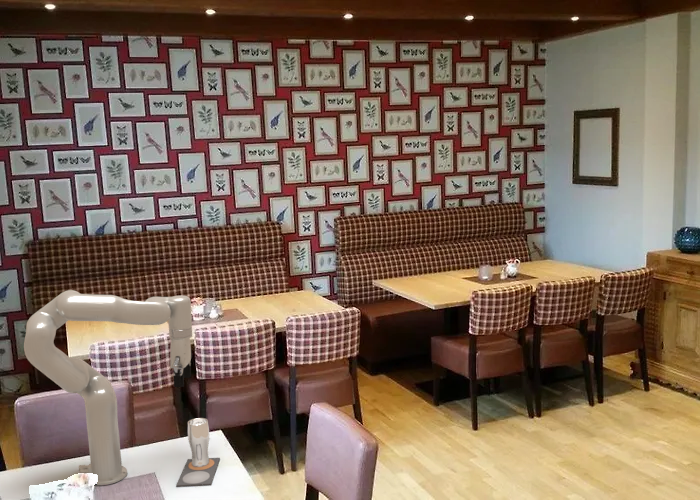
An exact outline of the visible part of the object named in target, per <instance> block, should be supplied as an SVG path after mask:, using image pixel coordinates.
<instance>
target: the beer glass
mask: <svg viewBox="0 0 700 500" xmlns="http://www.w3.org/2000/svg"><path fill="white" fill-rule="evenodd" d="M187 437H188V438H187V439H188V443H189V447H190V451H191V459H192V463H191V465H192V467H194V468H203V467H206V466H208V465H209V464H210V460H209V458H210V457H209V443H210V428H209V420H208V419H207V418H204V417H198V418H192V419H189V420H188V421H187Z"/></svg>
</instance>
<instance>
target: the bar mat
mask: <svg viewBox="0 0 700 500" xmlns="http://www.w3.org/2000/svg"><path fill="white" fill-rule="evenodd" d="M209 460H210V464H209V465H208V466H206V467H203V468H194V467H192V465H191V463H192V458H187V459H186V463H185V465H184V467H183V469H182V471H181V472H180V475H179V478H178V480H177V482H176V484H175V487H176V488H182V487H201V486H202V487H204V486H212V483H213V481H214V478H215V475H216V472H217V470H218V467H219V463H220V461H221V457H209Z"/></svg>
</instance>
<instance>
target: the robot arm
mask: <svg viewBox="0 0 700 500" xmlns="http://www.w3.org/2000/svg"><path fill="white" fill-rule="evenodd" d="M68 321H71V322H75V321H76V322H109V323H110V322H113V323H117V324H129V325H138V326H141V325H142V326H158V325H159V326H160V325H163V324H166V322H167V323H168V336H169V337H168V338H169V339H170V349H169V350H170V352H169V354H170V362H169V365H170V368H171V369H173V371H172V372H173V387H174V388H184V386H185V379H188V378H189V379H190V378H191V377H192V367H191V364H192V363H191V359H192V347H191V345H192V344H191V339H192V337H193V326H192V325H193V324H192V301H191V298H190V297H189V296H187V295H174V296H150V297H149V298H147V299H145V301H137V300H130V299H126V298H123V297H122V296H121V297H120V296H117V295H113V294H91V293H80V292H78V291H77V290H72V289H68V290H65V291H63V292H61V293H60V294H59V295H57V296H56V297H54V298H53V299H52V300H51V301H49V302H48V303H47V304H45V305H44V306H42V307H41V308H40V309H38V310H37V311H36V312H35V313H33V314H32V315H31V316H30V317H29V319H28V320H27V322H26V325H25V326H26V327H25V328H26V329H25V337H24V340H23V342H24V343H23V350H24V355H25V356H26V357H25V358H26V359H27V361H28V362H29V363H30V364H31V365H32V366H33V367H35V368H36V369H37V370H38V371H40V372H41V373H42V374H43V375H44V376H46V377H47V378H48V379H50V380H51V381H52V382H54V383H55V384H56V385H58V387H60V388H61V389H62V390H63V391H65V392H67V393H70V394H77V395H79V396H80V397H82V398H83V400H84V406H85V407H84V409H85V419H86V431H87V439H88V449H89V450H88V451H89V460H90V463H89V464H79V465H78V472H79V473H84V474H87V473H93V474H97V475H98V482H97V485H96V486H107V485H112V484H115V483H118V482H120V481H122V480H124V479H125V478H126V477H127V476H128V469H127V468H126V467H125V466H123V464H122V454H121V444H120V443H121V442H120V441H121V440H120V431H119V423H118V422H119V420H118V399H117V394H116V391H115V390H114V387H113V385H112V383H111V382H110V380H109V379H108V378H107V377H106V376H105V375H103V374H102V373H100V372H99V371H97V369H95V368H94V367H92V366H91V365H90V364H89V363H87V362H86V361H85V360H83V359H81V358H80V357H75V356H72V357H71V356H68V355H67V354H66V353H65V352H63V351H62V350H61V349H59V348H58V347H56V345H55V343H54V340H55V338H56V333H57V330H58V329H59V328H60V327H62V326H63V325H64V324H66V323H67V322H68Z"/></svg>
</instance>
